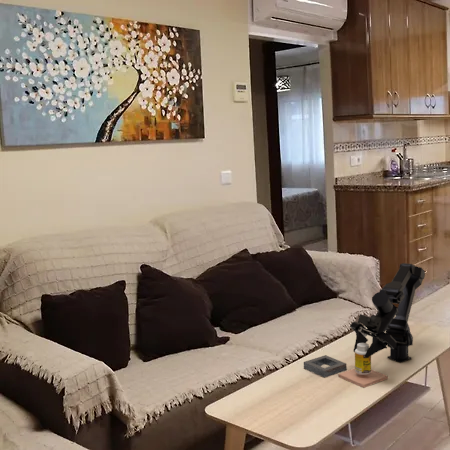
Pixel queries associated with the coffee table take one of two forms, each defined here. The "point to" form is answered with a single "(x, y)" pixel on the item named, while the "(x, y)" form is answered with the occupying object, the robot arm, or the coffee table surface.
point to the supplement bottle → (362, 359)
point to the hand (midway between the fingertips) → (359, 354)
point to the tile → (363, 377)
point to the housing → (333, 368)
